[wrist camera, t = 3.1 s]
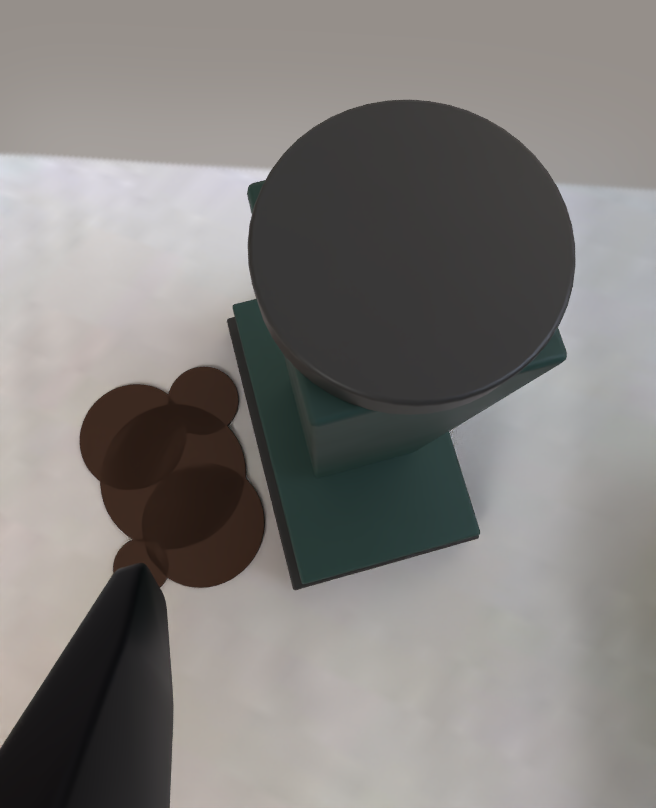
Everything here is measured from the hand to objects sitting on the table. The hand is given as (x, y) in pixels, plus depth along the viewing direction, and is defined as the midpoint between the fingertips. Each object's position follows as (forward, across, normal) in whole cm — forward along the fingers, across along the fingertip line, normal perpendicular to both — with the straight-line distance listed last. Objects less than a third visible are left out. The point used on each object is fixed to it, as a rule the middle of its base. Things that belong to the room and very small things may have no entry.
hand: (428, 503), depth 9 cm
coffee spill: (+9, +6, +5) cm, 12 cm away
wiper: (+9, 0, +5) cm, 10 cm away
